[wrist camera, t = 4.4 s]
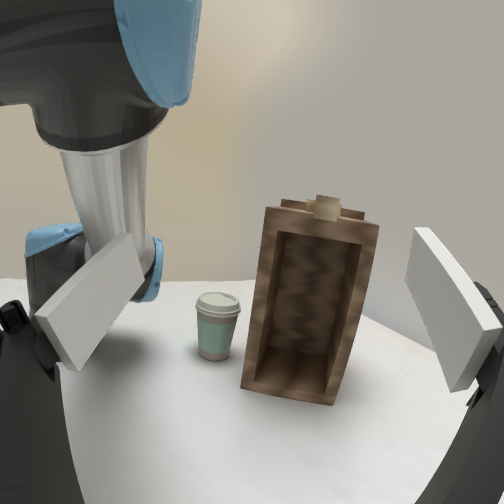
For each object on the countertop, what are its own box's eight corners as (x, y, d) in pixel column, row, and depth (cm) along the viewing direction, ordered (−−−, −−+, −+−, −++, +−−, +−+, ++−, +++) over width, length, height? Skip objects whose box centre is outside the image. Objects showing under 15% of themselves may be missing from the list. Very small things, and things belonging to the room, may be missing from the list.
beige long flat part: (295, 215, 27) (298, 191, 27) (307, 210, 54) (309, 199, 54) (354, 224, 26) (357, 201, 26) (337, 215, 53) (338, 203, 53)
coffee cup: (230, 368, 52) (237, 310, 50) (186, 359, 53) (189, 301, 51) (237, 347, 61) (244, 295, 58) (199, 340, 61) (203, 288, 59)
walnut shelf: (240, 387, 47) (267, 196, 41) (259, 347, 62) (282, 198, 56) (332, 405, 43) (381, 214, 38) (332, 360, 59) (364, 212, 53)
